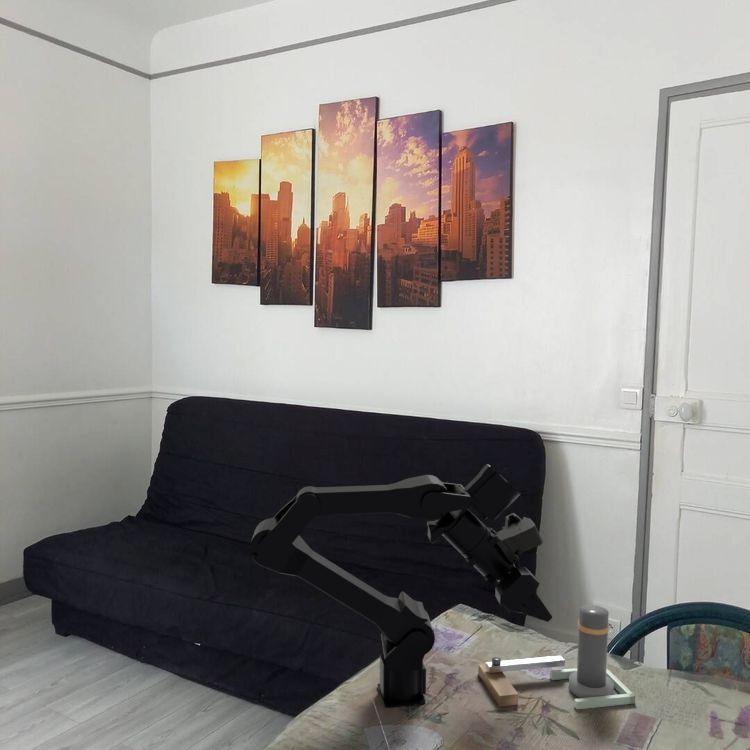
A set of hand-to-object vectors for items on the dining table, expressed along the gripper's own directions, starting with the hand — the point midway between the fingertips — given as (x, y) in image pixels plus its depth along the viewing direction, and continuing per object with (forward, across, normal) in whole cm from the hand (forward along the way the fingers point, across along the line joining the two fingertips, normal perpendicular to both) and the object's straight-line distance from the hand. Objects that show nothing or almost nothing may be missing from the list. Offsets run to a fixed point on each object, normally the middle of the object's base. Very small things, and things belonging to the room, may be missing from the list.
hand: (542, 607), depth 110 cm
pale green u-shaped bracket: (+15, 0, +4) cm, 16 cm away
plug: (+15, 0, +4) cm, 16 cm away
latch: (+7, +4, +9) cm, 12 cm away
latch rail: (+5, +1, +14) cm, 15 cm away
